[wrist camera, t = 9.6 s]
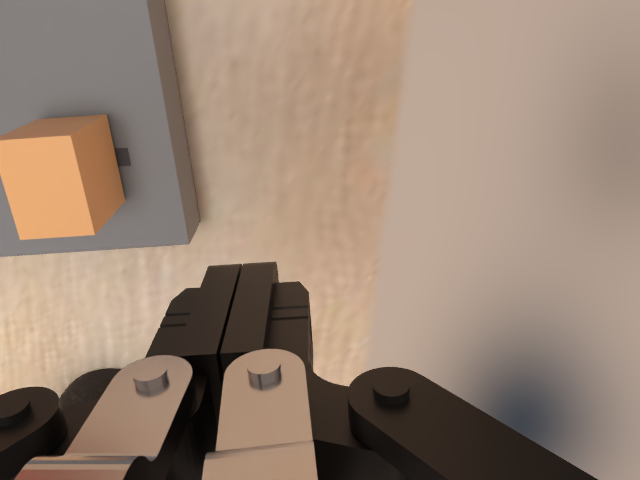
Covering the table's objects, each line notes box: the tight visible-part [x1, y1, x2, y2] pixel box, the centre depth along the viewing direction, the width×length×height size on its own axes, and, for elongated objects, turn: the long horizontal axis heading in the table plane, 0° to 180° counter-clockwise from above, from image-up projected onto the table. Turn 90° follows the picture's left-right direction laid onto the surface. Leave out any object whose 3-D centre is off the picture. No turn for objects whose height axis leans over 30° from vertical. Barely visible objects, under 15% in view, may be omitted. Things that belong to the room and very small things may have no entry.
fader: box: [0, 114, 125, 240], centre depth 23 cm, size 4×3×4 cm
